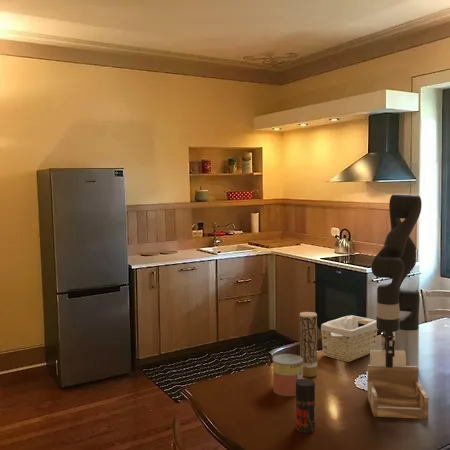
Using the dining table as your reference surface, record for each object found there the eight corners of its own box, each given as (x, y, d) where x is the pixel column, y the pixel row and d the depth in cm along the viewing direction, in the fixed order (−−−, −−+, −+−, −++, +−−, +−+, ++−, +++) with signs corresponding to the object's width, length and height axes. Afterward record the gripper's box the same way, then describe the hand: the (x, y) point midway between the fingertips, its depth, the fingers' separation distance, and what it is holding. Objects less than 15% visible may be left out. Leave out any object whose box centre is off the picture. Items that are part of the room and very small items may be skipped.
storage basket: (349, 344, 246) (349, 313, 245) (380, 351, 234) (380, 319, 233) (319, 356, 230) (318, 323, 229) (350, 365, 218) (350, 331, 217)
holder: (367, 397, 185) (367, 364, 184) (417, 398, 183) (417, 366, 182) (373, 416, 170) (373, 381, 169) (428, 418, 168) (428, 382, 167)
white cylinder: (370, 362, 180) (370, 347, 179) (403, 363, 178) (403, 348, 177) (371, 368, 174) (371, 353, 174) (406, 369, 173) (406, 354, 172)
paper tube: (317, 378, 204) (316, 316, 202) (299, 377, 205) (299, 315, 203) (317, 372, 211) (317, 312, 209) (300, 371, 212) (300, 311, 210)
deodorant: (294, 424, 166) (293, 379, 164) (312, 423, 166) (312, 378, 165) (298, 433, 160) (298, 386, 159) (317, 432, 160) (317, 385, 159)
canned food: (299, 397, 186) (299, 365, 185) (269, 394, 190) (269, 362, 189) (306, 386, 197) (305, 355, 196) (277, 382, 201) (276, 352, 200)
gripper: (403, 321, 167) (403, 372, 168) (395, 310, 181) (395, 357, 182) (379, 321, 168) (379, 371, 170) (373, 310, 182) (373, 356, 184)
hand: (387, 363), depth 176 cm, fingers closed on white cylinder, 5 cm apart
